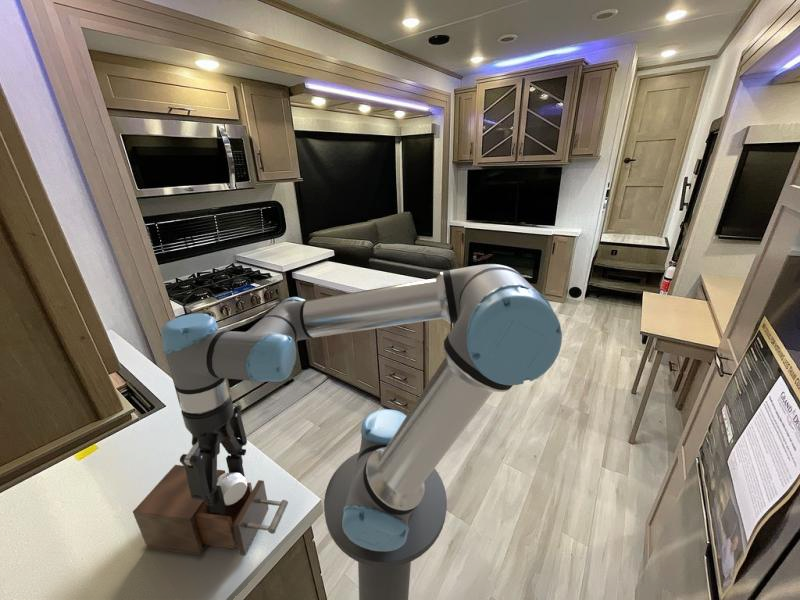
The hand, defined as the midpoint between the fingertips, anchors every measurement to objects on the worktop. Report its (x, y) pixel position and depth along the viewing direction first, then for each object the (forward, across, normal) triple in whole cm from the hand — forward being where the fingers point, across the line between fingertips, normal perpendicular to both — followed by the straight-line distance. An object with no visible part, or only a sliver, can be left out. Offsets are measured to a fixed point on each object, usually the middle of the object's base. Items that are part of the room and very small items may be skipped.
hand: (228, 495), depth 63 cm
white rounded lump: (0, 0, 0) cm, 1 cm away
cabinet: (+11, 0, -10) cm, 15 cm away
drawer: (+10, 0, +2) cm, 10 cm away
